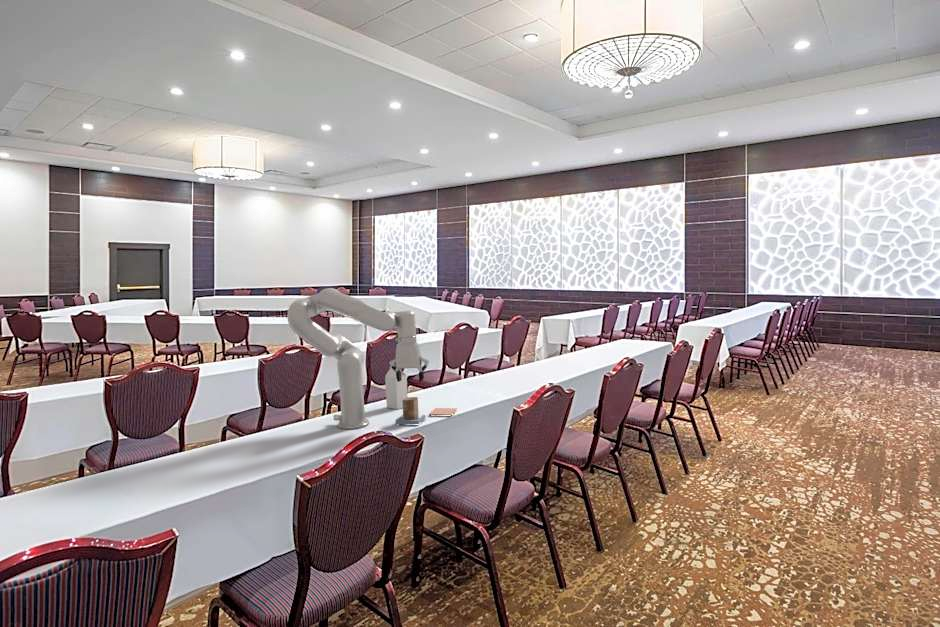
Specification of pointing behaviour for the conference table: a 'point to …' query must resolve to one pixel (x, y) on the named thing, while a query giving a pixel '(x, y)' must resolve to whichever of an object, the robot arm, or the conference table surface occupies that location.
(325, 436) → the conference table surface
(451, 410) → the terracotta tile
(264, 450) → the conference table surface
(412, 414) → the walnut block
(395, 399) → the milk carton
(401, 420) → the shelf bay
